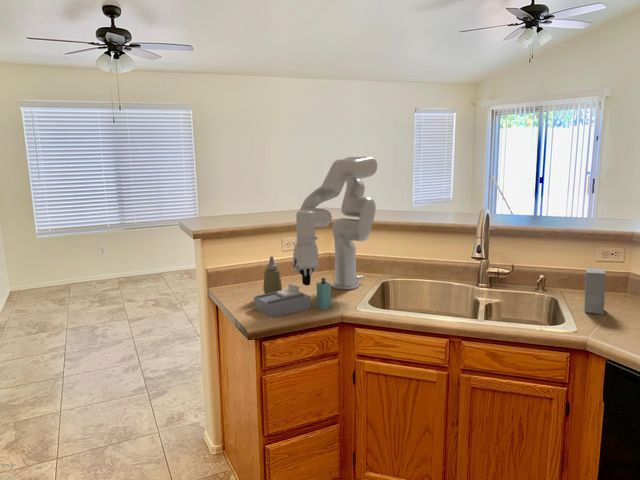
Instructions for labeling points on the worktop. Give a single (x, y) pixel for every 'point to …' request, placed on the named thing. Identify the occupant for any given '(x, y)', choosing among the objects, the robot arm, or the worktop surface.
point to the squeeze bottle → (272, 278)
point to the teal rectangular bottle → (323, 294)
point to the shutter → (289, 291)
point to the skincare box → (595, 291)
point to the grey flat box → (281, 303)
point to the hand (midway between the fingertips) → (306, 284)
